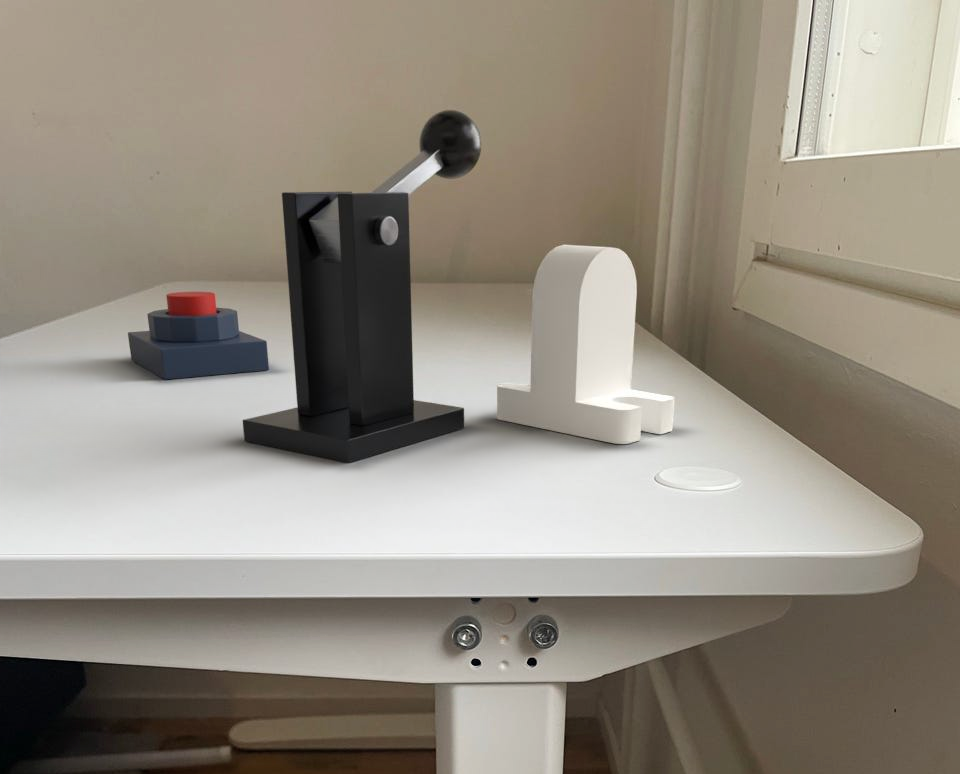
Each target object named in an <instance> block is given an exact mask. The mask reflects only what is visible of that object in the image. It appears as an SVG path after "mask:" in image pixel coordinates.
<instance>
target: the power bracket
mask: <svg viewBox="0 0 960 774" xmlns="http://www.w3.org/2000/svg"><path fill="white" fill-rule="evenodd" d="M337 197H338V212H339V231H340V250H341V263H330V262H324V260H323V257H322V254H321V252H320V249H319V246H318V244H317V241H316V238H315V236H314V233H313V231H312V228H311V225H310V223H309V219H310V218H312V217H313V216H314V215H316V214H317V213H318V212H319V211H321V210H322V209H323V208H324V207H326V206H327V205H328V204H330V203H331V202H332V201H333V200H335V199H336V198H337ZM281 201H282V203H281V204H282V215H283V229H284V230H283V231H284V243H285V256H286V271H287V284H288V296H289V297H288V299H289V311H290V323H291V325H290V326H291V337H292V338H291V340H292V353H293V365H294V366H293V367H294V379H295V392H296V393H295V394H296V404H297V407H292V408H289V409H285V410H279V411H276V412H272V413H266V414H262V415H259V416H254V417H249V418H246V419H242V429H243V440H244V442H248V443H252V444H258V445H261V446H267V447H272V448H277V449H281V450H287V451H291V452H296V453H299V454H305V455H311V456H315V457H320V458H324V459H329V460H330V459H331V460H334V461H338V462H339V461H340V462H344V463H352V462H356V461H359V460H362V459H366V458H369V457H372V456H376V455H378V454H382V453H385V452H388V451H392V450H396V449H398V448H401V447H402V448H403V447H405V446H408V445H412V444H415V443H418V442H421V441H426V440H428V439H431V438H435V437H438V436H442V435H445V434H448V433H451V432H455V431H458V430H461V429H464V428H465V408H464V407H460V406H455V405H448V404H441V403H434V402H429V401H422V400H416V399H415V398H414V397H415V396H414V395H415V394H414V363H413V362H414V360H413V359H414V356H413V355H414V354H413V324H412V323H413V322H412V321H413V319H412V284H411V283H412V280H411V278H412V277H411V246H410V245H411V242H410V237H411V236H410V203H409V196H408V192H378V193H371V192H352V191H341V190H339V191H289V192H288V191H287V192H286V191H285V192H281Z"/></svg>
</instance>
